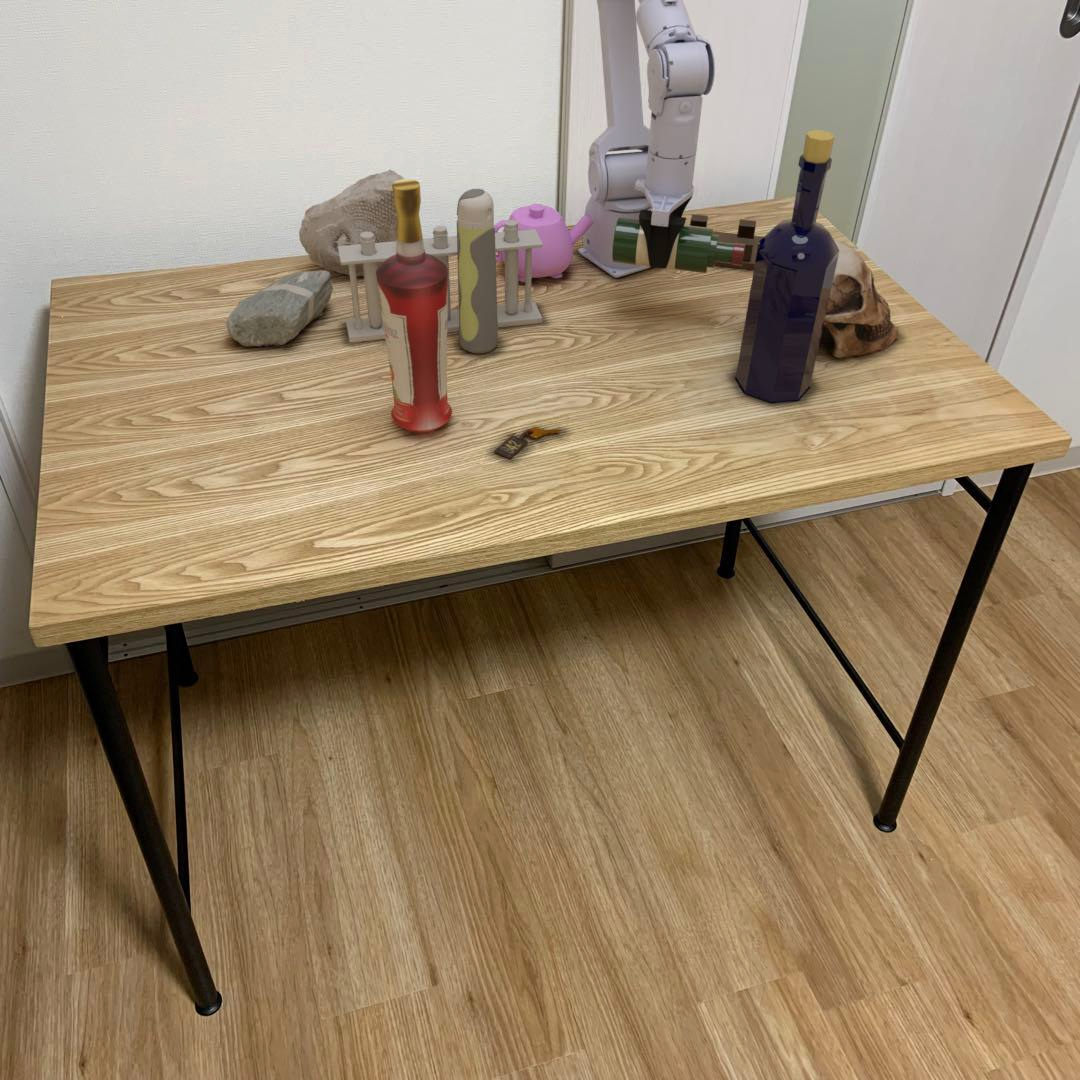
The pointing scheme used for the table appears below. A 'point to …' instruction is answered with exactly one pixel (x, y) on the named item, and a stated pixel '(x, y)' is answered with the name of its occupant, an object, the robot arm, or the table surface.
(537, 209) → the teapot
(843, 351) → the skull
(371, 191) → the fossil
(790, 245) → the bottle
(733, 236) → the wine rack
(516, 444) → the key tag
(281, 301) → the decorative stone
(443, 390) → the liquor
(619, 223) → the wine bottle
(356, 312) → the test tube rack
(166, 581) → the table surface
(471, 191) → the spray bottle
